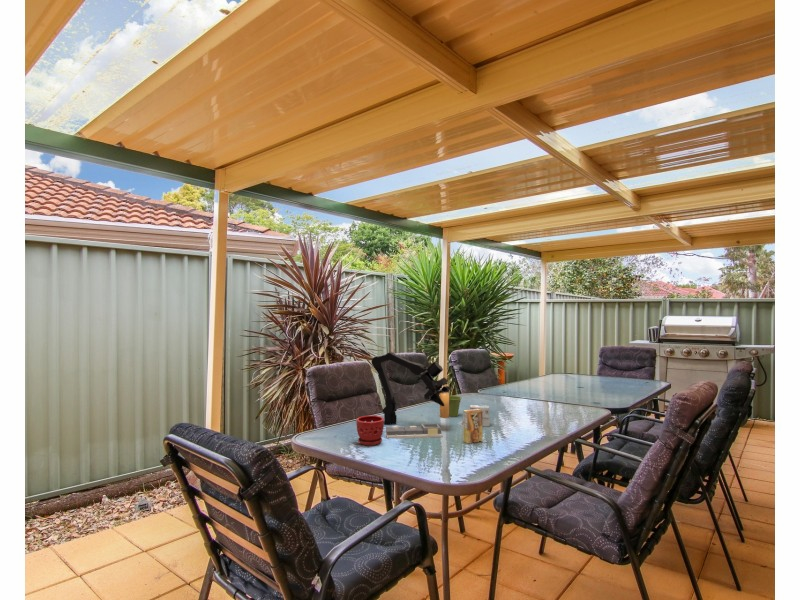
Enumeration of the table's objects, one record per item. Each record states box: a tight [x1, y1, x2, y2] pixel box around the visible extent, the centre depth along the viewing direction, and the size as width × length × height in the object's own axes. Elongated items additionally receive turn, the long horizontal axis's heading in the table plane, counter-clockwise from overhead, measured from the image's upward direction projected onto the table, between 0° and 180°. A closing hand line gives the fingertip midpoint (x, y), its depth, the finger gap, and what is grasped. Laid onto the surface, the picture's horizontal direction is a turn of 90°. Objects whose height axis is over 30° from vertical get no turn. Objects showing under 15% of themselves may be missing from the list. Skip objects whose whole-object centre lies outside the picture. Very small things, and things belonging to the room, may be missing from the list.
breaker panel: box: [384, 423, 443, 439], centre depth 234 cm, size 28×12×4 cm, turn 96°
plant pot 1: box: [356, 415, 385, 446], centre depth 219 cm, size 13×13×12 cm
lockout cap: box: [439, 391, 450, 419], centre depth 245 cm, size 5×5×13 cm
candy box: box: [462, 409, 483, 444], centre depth 221 cm, size 9×4×15 cm, turn 116°
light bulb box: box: [469, 404, 491, 427], centre depth 255 cm, size 11×7×11 cm, turn 84°
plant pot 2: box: [449, 395, 462, 418], centre depth 280 cm, size 12×12×11 cm
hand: (446, 405), depth 244 cm, fingers closed on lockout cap, 5 cm apart
